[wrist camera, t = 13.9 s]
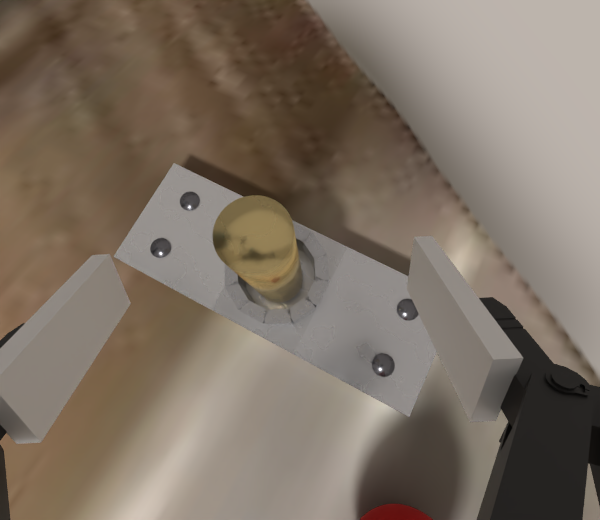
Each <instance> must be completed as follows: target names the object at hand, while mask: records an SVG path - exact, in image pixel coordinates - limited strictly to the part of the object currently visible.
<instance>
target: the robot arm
mask: <svg viewBox="0 0 600 520" xmlns="http://www.w3.org/2000/svg"><path fill="white" fill-rule="evenodd" d="M407 290H408V292H409V294H410V297H411V299H412V301H413V303H414V305H415V307H416V309H417V311H418V313H419V315H420V318H421V320H422V322H423V324H424V326H425V328H426V330H427V332H428V334H429V337H430V339H431V341H432V343H433V345H434V347H435V349H436V351H437V353H438V356H439V358H440V360H441V362H442V364H443V366H444V368H445V370H446V372H447V375H448V377H449V379H450V381H451V383H452V385H453V387H454V389H455V391H456V394H457V396H458V398H459V400H460V402H461V404H462V406H463V408H464V410H465V412H466V415H467V417H468V419H469V421H470V422H483V421H496V419H497V417H498V415H499V412H500V410H501V409H502V411H503V413H504V414H505V416H506V418H507V420H508V423H507V426H506V428H505V430H504V432H503V434H502V436H501V438H500V440H499V442H501V444H500V447H499V450H498V453H497V457H496V460H495V463H494V466H493V469H492V473H491V476H490V479H489V482H488V485H487V488H486V492H485V495H484V498H483V501H482V504H481V508H480V511H479V514H478V517H477V520H582V517H583V507H584V497H585V487H586V477H587V467H588V463H589V464H590V466H591V471H592V475H593V479H594V484H595V488H596V492H597V497H598V501H599V505H600V387H597V386H593V385H589V383H588V382H587V381H586V380H585V379H584V378H583V377H581V376H580V375H579V374H578V373H576V372H574V371H572V370H570V369H568V368H566V367H564V366H560V365H557V364H554V363H553V362H552V361H551V360H550V359H549V357H548V356H547V355H546V354H545V353H544V351H543V350H542V349H541V348H540V347H539V345H538V344H537V343H536V342H535V340H534V339H533V338H532V337H531V336H530V334H529V333H528V332H527V331H526V330H525V329H523V326H522V325H521V324H520V322H519V321H518V320H516V319H515V316H514V315H513V314H512V313H511V312H510V310H509V309H508V308H507V307H506V306H505V305H503V304H502V303H500V302H499V301H497V300H496V299H494V298H493V297H490V298H478V296H477V295H476V294H475V292H474V291H473V290H472V288H471V287H470V286H469V284H468V283H467V282H466V280H465V279H464V278H463V276H462V275H461V274H460V272H459V271H458V270H457V268H456V267H455V266H454V264H453V263H452V262H451V260H450V259H449V258H448V256H447V255H446V254H445V252H444V251H443V250H442V248H441V247H440V246H439V244H438V243H437V242H436V240H435V239H434V238H433V236H421V237H414V241H413V248H412V255H411V262H410V269H409V276H408V283H407ZM130 304H131V303H130V301H129V298H128V296H127V294H126V291H125V289H124V287H123V284H122V282H121V279H120V277H119V275H118V272H117V270H116V268H115V265H114V263H113V261H112V258H111V256H110V254H105V255H92V256H91V257H90V258H89V259H88V260H87V261H86V262H85V263H84V264H83V265H82V266H81V267H80V268H79V269H78V270H77V271H76V272H75V273H74V274H73V275H72V276H71V277H70V278H69V279H68V280H67V281H66V282H65V283H64V284H63V285H62V286H61V287H60V288H59V289H58V290H57V291H56V293H55V294H54V295H53V296H52V297H51V298H50V299H49V300H48V301H47V302H46V303H45V304H44V305H43V306H42V307H41V308H40V309H39V310H38V311H37V312H36V313H35V314H34V315H33V316H32V317H31V318H30V319H29V320H28V321H27V322H26V323H23V324H21V325H20V326H18V327H17V328H15V329H14V330H12V331H11V332H9V333H8V334H7V335H6V336H5V337H4V338H2V339H1V340H0V440H1V439H2V438H3V436H4V435H5V434H6V433H7V434H8V435H9V436H10V437H11V438H12V439H13V440H14V441H15V442H16V444H18V443H39V442H42V440H43V439H44V437H45V435H46V434H47V432H48V431H49V429H50V428H51V426H52V425H53V423H54V422H55V420H56V418H57V417H58V415H59V414H60V412H61V411H62V409H63V408H64V406H65V404H66V403H67V401H68V400H69V398H70V397H71V395H72V394H73V392H74V391H75V389H76V387H77V386H78V384H79V383H80V381H81V380H82V378H83V377H84V375H85V373H86V372H87V370H88V369H89V367H90V366H91V364H92V363H93V361H94V360H95V358H96V356H97V355H98V353H99V352H100V350H101V349H102V347H103V346H104V344H105V343H106V341H107V339H108V338H109V336H110V335H111V333H112V332H113V330H114V329H115V327H116V325H117V324H118V322H119V321H120V319H121V318H122V316H123V315H124V313H125V312H126V310H127V308H128V307H129V305H130ZM0 520H10V512H9V501H8V491H7V480H6V469H5V459H4V450H3V448H2V446H1V445H0Z"/></svg>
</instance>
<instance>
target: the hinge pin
mask: <svg viewBox="0 0 600 520" xmlns="http://www.w3.org/2000/svg"><path fill="white" fill-rule="evenodd" d="M213 245H214V248H215V251H216V253H217V255H218V256H219V258H220V259H221V260H222V261H223V262H224V263H225V264H226V265H227V266H228V267H229V268H230V269H232V270H233V271H234V272H235V273H236V274H237V275H239V276H240V277H241V278H242V279H243V280H244V281H246V282H247V283H248V284H249V285H250V286H251V287H253V288H254V289H255V290H256V291H257V292H258V293H260V294H261V295H262V296H263V297H264V298H266V299H267V300H269V301H272V302H285V301H288V300H290V299H292V298H293V297H294V296H295V295H296V294H297V293H298V292H299V290H300V288H301V286H302V281H303V276H302V270H301V264H300V259H299V253H298V247H297V242H296V236H295V231H294V225H293V221H292V219H291V216H290V215H289V213H288V211H287V210H286V209H285V208H284V207H283V206H282V205H281V204H280V203H279V202H277V201H275V200H274V199H271V198H269V197H265V196H260V195H251V196H245V197H242V198H239V199H237V200H235V201H233V202H231V203H230V204H228V205H227V206H226V207H225V208H224V209H223V210H222V211H221V213H220V214H219V216H218V217H217V219H216V222H215V224H214V228H213Z"/></svg>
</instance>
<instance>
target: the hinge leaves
mask: <svg viewBox="0 0 600 520" xmlns="http://www.w3.org/2000/svg"><path fill="white" fill-rule="evenodd" d="M242 197H243V196H241V195H239V194H237V193H235V192H233V191H231V190H229V189H227V188H225V187H222V186H220V185H218V184H216V183H214V182H212V181H210V180H208V179H206V178H204V177H202V176H200V175H198V174H196V173H193V172H191V171H189V170H187V169H185V168H183V167H181V166H179V165H177V164H175V163H174V164H173V165H172V167H171V169H170V170H169V172H168V173H167V175H166V176H165V178H164V179H163V181H162V182H161V184H160V186H159V187H158V189H157V190H156V192H155V193H154V195H153V196H152V198H151V199H150V201H149V203H148V204H147V206H146V207H145V209H144V210H143V212H142V213H141V215H140V216H139V218H138V220H137V221H136V223H135V224H134V226H133V227H132V229H131V230H130V232H129V233H128V235H127V236H126V238H125V240H124V241H123V243H122V244H121V246H120V247H119V249H118V250H117V252H116V253H115V255H114V257H115V258H117V259H119V260H121V261H123V262H124V263H126V264H128V265H130V266H132V267H134V268H135V269H137V270H139V271H141V272H143V273H145V274H147V275H148V276H150V277H152V278H154V279H156V280H158V281H159V282H161V283H163V284H165V285H167V286H169V287H170V288H172V289H174V290H176V291H178V292H180V293H182V294H183V295H185V296H187V297H189V298H191V299H193V300H194V301H196V302H198V303H200V304H202V305H204V306H206V307H207V308H209V309H211V310H213V311H215V312H217V313H218V314H220V315H222V316H224V317H226V318H228V319H230V320H231V321H233V322H235V323H237V324H239V325H241V326H242V327H244V328H246V329H248V330H250V331H252V332H253V333H255V334H257V335H259V336H261V337H263V338H265V339H266V340H268V341H270V342H272V343H274V344H276V345H277V346H279V347H281V348H283V349H285V350H287V351H289V352H290V353H292V354H294V355H296V356H298V357H300V358H301V359H303V360H305V361H307V362H309V363H311V364H312V365H314V366H316V367H318V368H320V369H322V370H324V371H325V372H327V373H329V374H331V375H333V376H335V377H336V378H338V379H340V380H342V381H344V382H346V383H348V384H349V385H351V386H353V387H355V388H357V389H359V390H360V391H362V392H364V393H366V394H368V395H370V396H371V397H373V398H375V399H377V400H379V401H381V402H383V403H384V404H386V405H388V406H390V407H392V408H394V409H395V410H397V411H399V412H401V413H403V414H405V415H407V416H408V417H410V414H411V412H412V409H413V407H414V405H415V402H416V400H417V398H418V395H419V393H420V390H421V388H422V386H423V383H424V381H425V378H426V376H427V374H428V371H429V369H430V367H431V364H432V362H433V359H434V357H435V355H436V352H437V351H436V349H435V347H434V345H433V343H432V341H431V339H430V337H429V334H428V332H427V330H426V328H425V326H424V324H423V322H422V320H421V318H420V315H419V313H418V311H417V309H416V307H415V305H414V303H413V301H412V299H411V297H410V294H409V292H408V290H407V283H408V276H407V275H405V274H403V273H401V272H398V271H396V270H394V269H392V268H390V267H388V266H386V265H384V264H382V263H380V262H378V261H376V260H374V259H372V258H369V257H367V256H365V255H363V254H361V253H359V252H357V251H355V250H353V249H351V248H349V247H347V246H345V245H343V244H340V243H338V242H336V241H334V240H332V239H330V238H328V237H326V236H324V235H322V234H320V233H318V232H316V231H314V230H311V229H309V228H307V227H305V226H303V225H301V224H299V223H297V222H295V221H293V220H292V221H293V225H294V231H295V236H296V242H297V247H298V253H299V259H300V264H301V270H302V276H303V281H302V286H301V288H300V290H299V292H298V293H297V294H296V295H295V296H294V297H293V298H292V299H290V300H288V301H285V302H272V301H269V300H267V299H266V298H264V297H263V296H262V295H261V294H260V293H258V292H257V291H256V290H255V289H254V288H253V287H251V286H250V285H249V284H248V283H247V282H246V281H244V280H243V279H242V278H241V277H240V276H239V275H237V274H236V273H235V272H234V271H233V270H232V269H230V268H229V267H228V266H227V265H226V264H225V263H224V262H223V261H222V260H221V259H220V258H219V256H218V255H217V253H216V251H215V248H214V245H213V228H214V224H215V222H216V219H217V217H218V216H219V214H220V213H221V211H222V210H223V209H224V208H225V207H226V206H227V205H228V204H230V203H231V202H233V201H235V200H237V199H239V198H242Z"/></svg>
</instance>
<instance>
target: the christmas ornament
mask: <svg viewBox="0 0 600 520" xmlns="http://www.w3.org/2000/svg"><path fill="white" fill-rule="evenodd" d="M360 520H433V519H432V518H431V517H429V516H428V515H426V514H425V513H423V512H421V511H420V510H418V509H415V508H413V507H410V506H407V505H402V504H385V505H381V506H378V507H376V508H374V509H372V510H370V511H369V512H367V513H366V514H365V515H364V516H362V517H361V519H360Z"/></svg>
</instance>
